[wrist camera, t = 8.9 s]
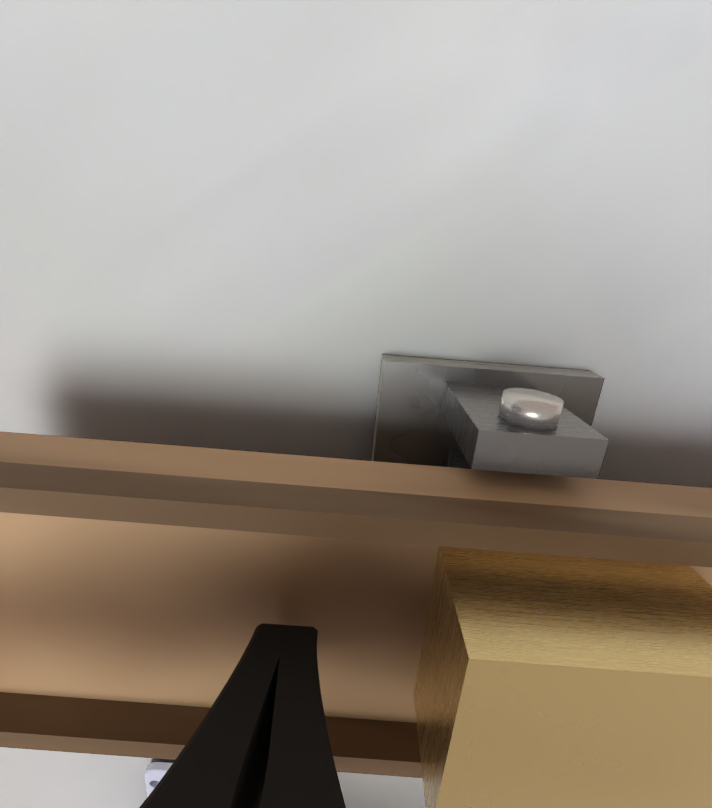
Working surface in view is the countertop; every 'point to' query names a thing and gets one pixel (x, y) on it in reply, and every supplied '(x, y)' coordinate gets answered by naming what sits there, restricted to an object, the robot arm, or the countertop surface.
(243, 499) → the beam
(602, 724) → the block
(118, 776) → the countertop surface
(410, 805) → the countertop surface
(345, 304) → the countertop surface
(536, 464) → the fulcrum
